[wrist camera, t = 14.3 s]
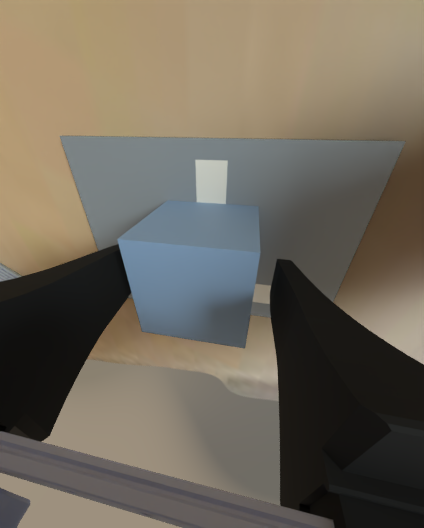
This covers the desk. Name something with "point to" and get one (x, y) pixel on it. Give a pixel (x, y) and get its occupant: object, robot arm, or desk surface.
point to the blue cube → (194, 270)
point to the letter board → (243, 193)
